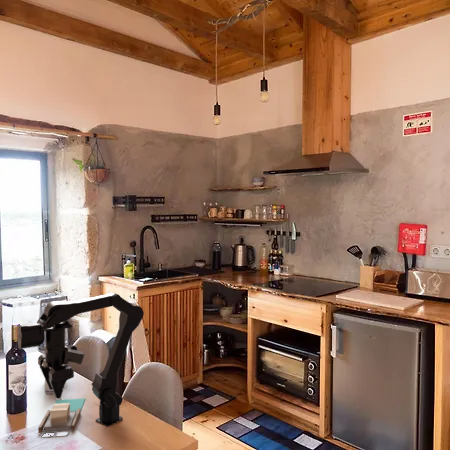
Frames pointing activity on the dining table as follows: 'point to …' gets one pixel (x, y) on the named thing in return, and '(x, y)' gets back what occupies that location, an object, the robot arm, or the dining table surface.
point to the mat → (72, 403)
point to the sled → (60, 417)
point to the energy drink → (48, 389)
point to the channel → (48, 417)
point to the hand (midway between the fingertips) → (54, 393)
